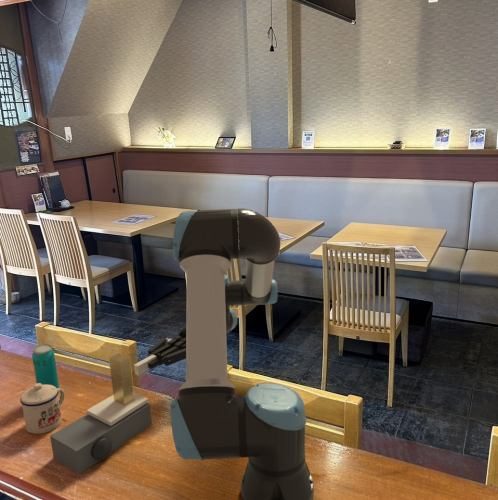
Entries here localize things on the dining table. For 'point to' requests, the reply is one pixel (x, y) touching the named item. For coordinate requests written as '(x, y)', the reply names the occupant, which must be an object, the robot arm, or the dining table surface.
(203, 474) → the dining table surface
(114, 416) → the sliding cover
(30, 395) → the teacup with lid
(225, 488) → the dining table surface
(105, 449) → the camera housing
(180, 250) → the robot arm
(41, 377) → the beverage can
